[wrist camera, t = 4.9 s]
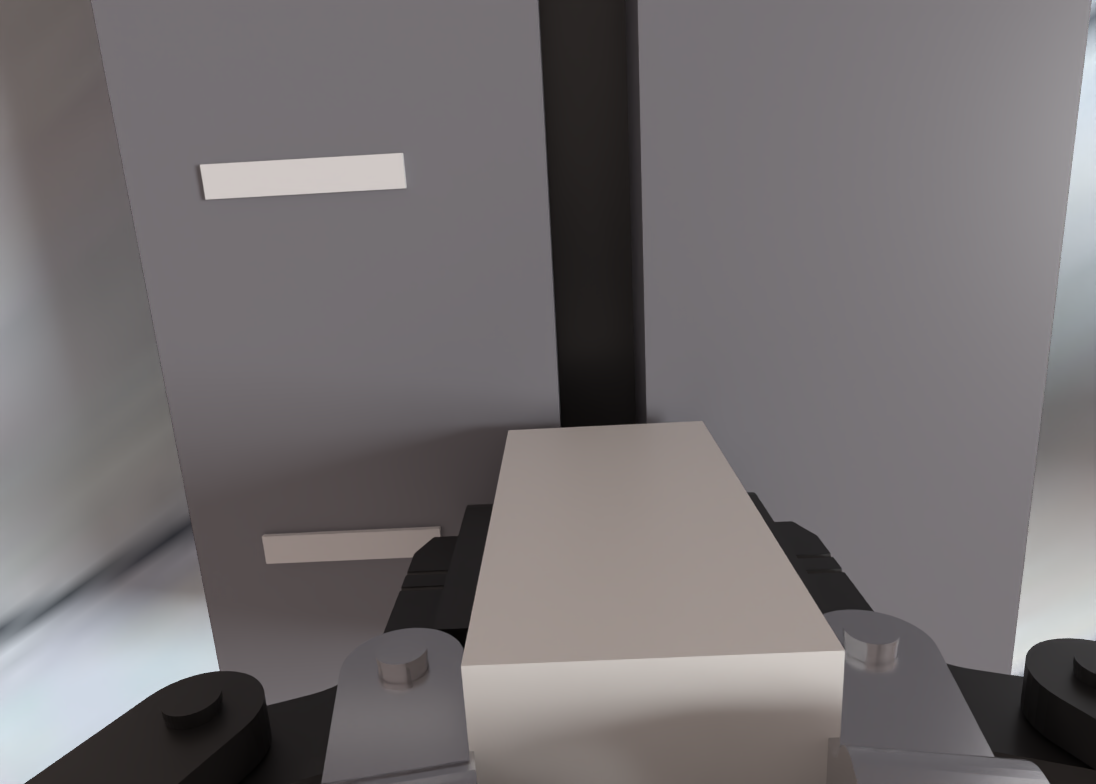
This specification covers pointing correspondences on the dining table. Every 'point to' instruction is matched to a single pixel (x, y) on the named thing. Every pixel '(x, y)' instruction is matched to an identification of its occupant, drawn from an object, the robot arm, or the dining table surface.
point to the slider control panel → (596, 277)
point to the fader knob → (641, 621)
